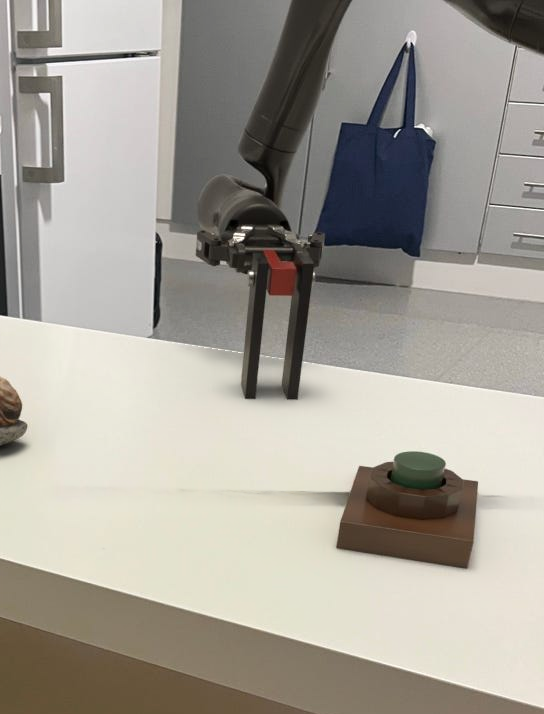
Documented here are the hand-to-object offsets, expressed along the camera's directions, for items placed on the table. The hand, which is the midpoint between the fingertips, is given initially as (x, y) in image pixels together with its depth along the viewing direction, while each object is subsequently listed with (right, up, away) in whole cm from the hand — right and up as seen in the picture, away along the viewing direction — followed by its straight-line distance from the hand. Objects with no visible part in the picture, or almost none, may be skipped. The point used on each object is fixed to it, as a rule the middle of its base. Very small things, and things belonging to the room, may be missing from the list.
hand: (270, 262), depth 100 cm
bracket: (0, -14, -1) cm, 14 cm away
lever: (0, -2, -2) cm, 3 cm away
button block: (+5, -29, -24) cm, 38 cm away
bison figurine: (-30, -19, -8) cm, 36 cm away
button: (+5, -26, -26) cm, 37 cm away
